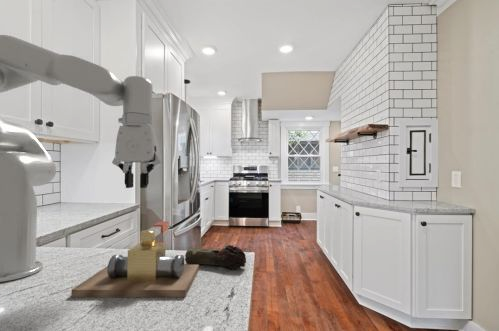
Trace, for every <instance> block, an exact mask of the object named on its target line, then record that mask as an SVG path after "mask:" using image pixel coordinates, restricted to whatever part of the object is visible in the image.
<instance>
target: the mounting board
mask: <svg viewBox="0 0 499 331" xmlns="http://www.w3.org/2000/svg"><path fill="white" fill-rule="evenodd" d="M107 268H108V265H107V266H105V267H104V268H102V269H101V270H99V271H98V272H96V273H95V274H93V275H92V276H90V277H88V278H87V279H86V280H84V281H82V282H81V283H80V284H78V285H76V286H75V287H74V288H72V289H71V291H70V293H71V294H70V295H71V298H186V297H187V295H188V293H189V291H190V289H191V287H192V285H193V283H194V281H195V279H196V277H197V275H198V274H199V271H200V264H184V271H183V274H182V276H181V277H180V278H174V277H173V276H160V277H159V278H158V279H157V281H156V282H127V276H118V277H117V278H109V277H108V273H107Z"/></svg>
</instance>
